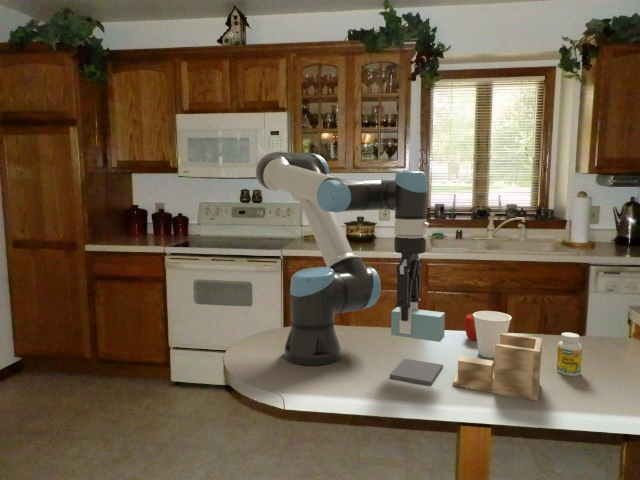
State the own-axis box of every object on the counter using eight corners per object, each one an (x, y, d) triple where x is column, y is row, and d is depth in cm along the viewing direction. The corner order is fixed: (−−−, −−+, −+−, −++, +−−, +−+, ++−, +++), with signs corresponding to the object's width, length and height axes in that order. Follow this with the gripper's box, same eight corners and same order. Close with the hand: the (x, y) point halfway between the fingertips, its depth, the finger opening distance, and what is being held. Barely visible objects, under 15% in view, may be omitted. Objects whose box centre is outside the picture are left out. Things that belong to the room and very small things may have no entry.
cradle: (452, 385, 115) (454, 339, 114) (460, 370, 124) (462, 327, 123) (537, 400, 107) (539, 351, 106) (539, 383, 116) (542, 338, 115)
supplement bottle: (578, 369, 125) (580, 332, 124) (582, 377, 120) (585, 339, 119) (554, 367, 127) (557, 330, 126) (558, 375, 122) (560, 336, 121)
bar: (391, 335, 123) (391, 311, 122) (396, 330, 127) (397, 307, 126) (439, 341, 117) (440, 317, 117) (444, 336, 121) (444, 312, 121)
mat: (389, 377, 120) (389, 374, 120) (404, 361, 131) (404, 358, 131) (431, 385, 116) (431, 381, 116) (442, 367, 126) (442, 364, 126)
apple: (489, 339, 149) (490, 314, 148) (480, 344, 144) (481, 319, 143) (470, 334, 153) (470, 311, 152) (460, 339, 149) (461, 314, 148)
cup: (512, 362, 130) (514, 321, 128) (473, 360, 132) (474, 319, 130) (506, 350, 139) (508, 311, 138) (469, 347, 141) (471, 309, 140)
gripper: (415, 240, 111) (413, 342, 113) (434, 233, 126) (432, 323, 129) (383, 239, 114) (382, 338, 117) (405, 232, 130) (404, 319, 132)
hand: (408, 330), depth 123 cm, fingers closed on bar, 4 cm apart
